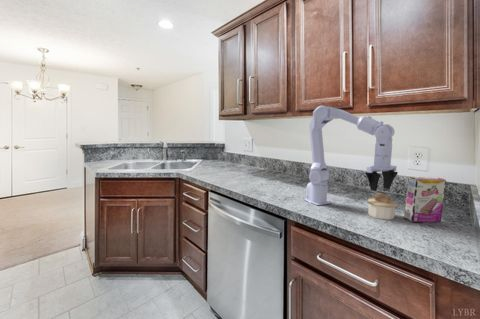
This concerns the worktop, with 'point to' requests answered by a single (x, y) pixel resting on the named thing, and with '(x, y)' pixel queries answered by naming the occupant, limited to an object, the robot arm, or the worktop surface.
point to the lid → (382, 201)
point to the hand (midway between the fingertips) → (380, 189)
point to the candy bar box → (424, 199)
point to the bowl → (381, 212)
